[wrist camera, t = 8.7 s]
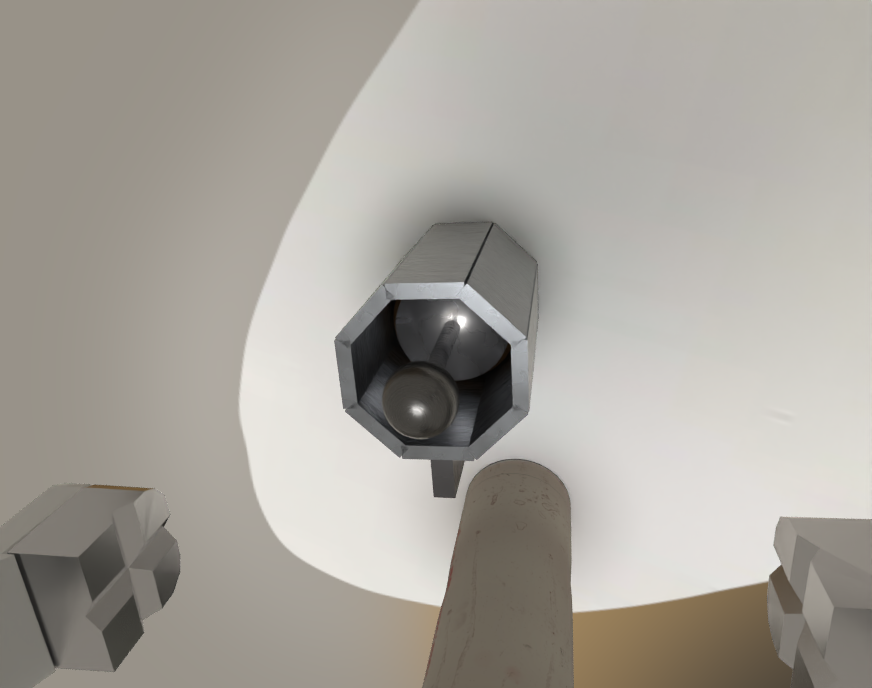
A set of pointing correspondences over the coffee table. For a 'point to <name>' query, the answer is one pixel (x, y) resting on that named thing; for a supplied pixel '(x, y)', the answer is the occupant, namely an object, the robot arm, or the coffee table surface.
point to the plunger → (436, 363)
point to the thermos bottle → (508, 585)
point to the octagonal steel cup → (479, 397)
